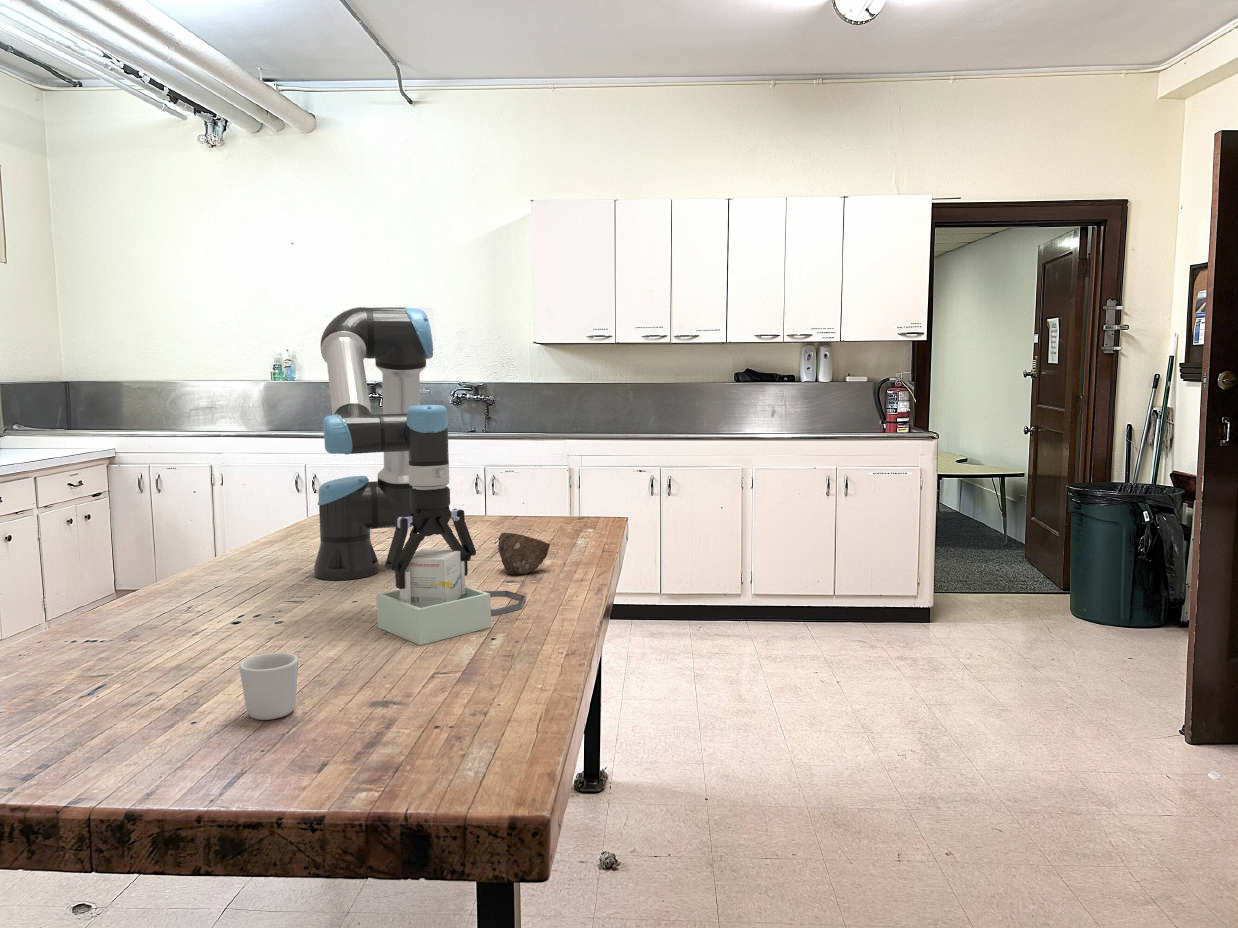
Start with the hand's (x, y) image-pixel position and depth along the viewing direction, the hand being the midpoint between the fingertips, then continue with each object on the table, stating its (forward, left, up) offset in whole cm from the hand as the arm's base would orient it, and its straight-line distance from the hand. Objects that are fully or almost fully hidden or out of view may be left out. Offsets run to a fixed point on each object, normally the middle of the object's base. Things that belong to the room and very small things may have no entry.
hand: (433, 598), depth 170 cm
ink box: (0, 0, -3) cm, 3 cm away
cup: (+19, -39, -6) cm, 44 cm away
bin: (0, 0, -6) cm, 6 cm away
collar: (-6, +16, -6) cm, 18 cm away
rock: (-24, +39, -6) cm, 46 cm away
